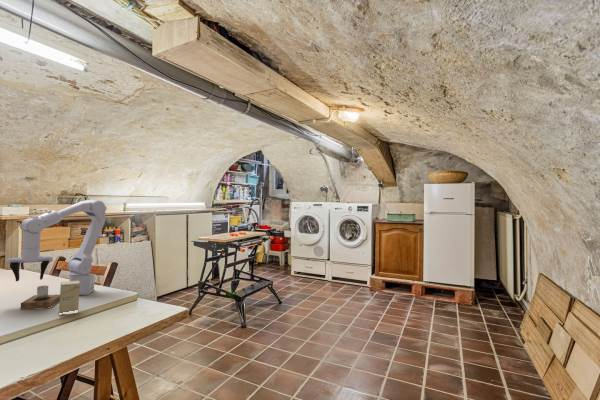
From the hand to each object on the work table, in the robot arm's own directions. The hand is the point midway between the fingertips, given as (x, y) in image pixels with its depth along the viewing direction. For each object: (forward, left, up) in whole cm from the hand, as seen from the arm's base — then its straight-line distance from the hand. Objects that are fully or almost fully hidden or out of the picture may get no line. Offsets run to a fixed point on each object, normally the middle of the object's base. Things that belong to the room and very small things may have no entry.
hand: (29, 279), depth 133 cm
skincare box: (-19, +12, -10) cm, 25 cm away
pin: (-5, +1, -10) cm, 11 cm away
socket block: (-5, +1, -10) cm, 11 cm away
